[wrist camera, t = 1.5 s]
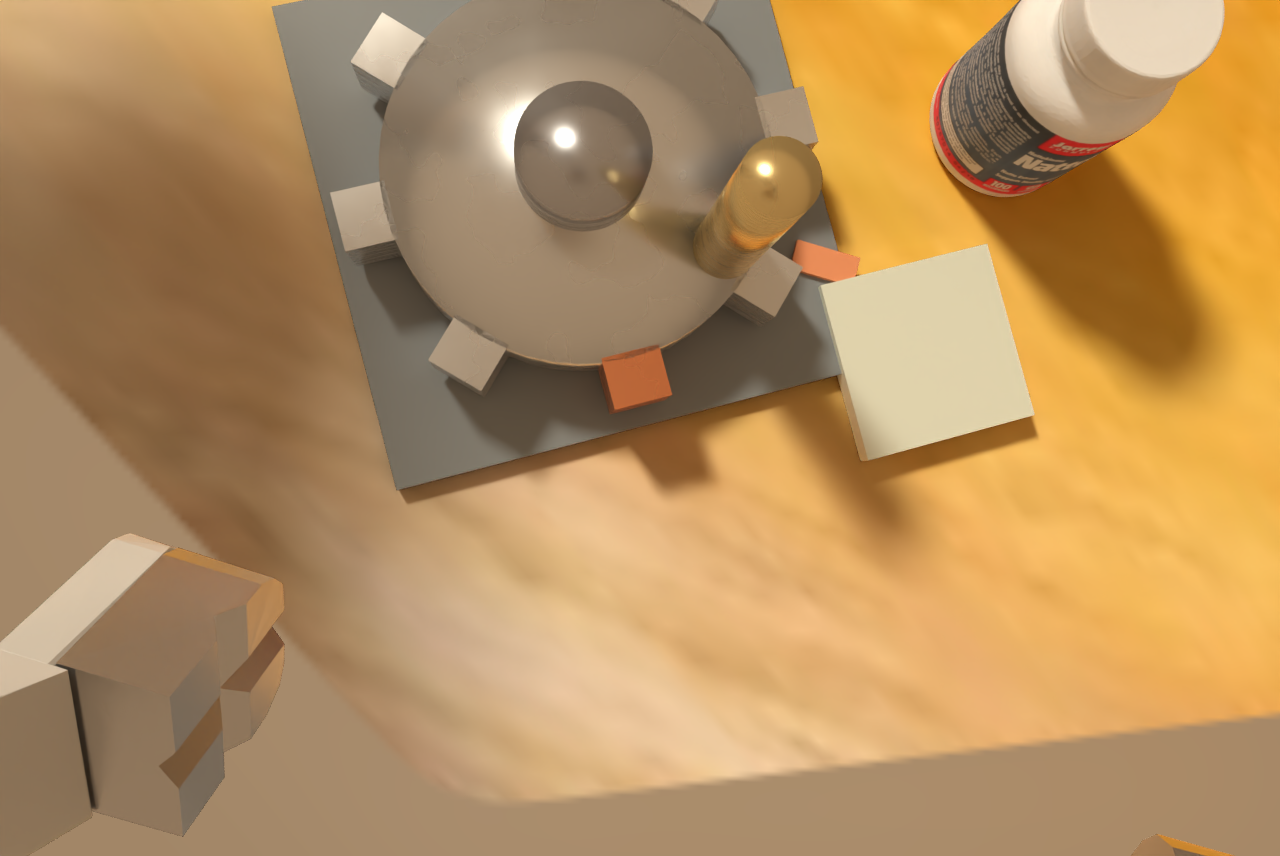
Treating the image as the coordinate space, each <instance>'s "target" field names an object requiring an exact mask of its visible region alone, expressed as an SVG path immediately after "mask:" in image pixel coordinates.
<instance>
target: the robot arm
mask: <svg viewBox="0 0 1280 856" xmlns="http://www.w3.org/2000/svg"><path fill="white" fill-rule="evenodd" d="M283 611H284V595H283V583H281V582H279V581H278V580H276V579H275V578H272V577H269V576H266V575H263V574H260V573H257V572H253V571H250V570H247V569H244V568H241V567H238V566H235V565H231V564H228V563H225V562H222V561H219V560H216V559H213V558H210V557H206V556H203V555H200V554H197V553H194V552H190V551H188V550H184V549H181V548H175V547H172V546H169V545H166V544H163V543H160V542H156V541H153V540H150V539H147V538H144V537H141V536H137V535H134V534H131V533H128V534H126V535H123V536H120V537H117V538H114V539H113V540H111V541H109V542H108V543H107V544H106V545H105V546H104V547H103V548H102V549H101V550H100V551H99V552H97V553H96V554H95V555H94V556H93V557H92V558H91V559H90V560H89V561H88V562H87V563H85V564H84V565H83V566H82V567H81V568H80V569H79V570H78V571H77V572H76V573H75V574H74V575H72V577H71V578H69V579H68V580H67V581H66V582H65V583H64V584H63V585H62V586H60V588H58V589H57V590H56V591H55V592H54V593H53V594H52V595H51V596H50V597H48V598H47V600H45V601H44V602H43V603H42V604H41V605H40V606H39V607H38V608H37V609H35V610H34V611H33V612H32V613H31V614H30V615H29V616H28V617H27V618H26V619H25V620H23V621H22V622H21V623H20V624H19V625H18V626H17V627H16V628H15V629H14V630H13V631H11V633H9V634H8V635H7V636H6V637H5V638H4V639H3V640H2V641H1V642H0V856H28V855H30V854H32V853H33V852H35V851H37V850H38V849H40V848H42V847H43V846H45V845H47V844H48V843H50V842H52V841H53V840H55V839H57V838H58V837H60V836H62V835H63V834H65V833H67V832H68V831H70V830H72V829H73V828H75V827H77V826H78V825H80V824H82V823H83V822H85V821H87V820H88V819H90V818H92V811H93V812H97V813H100V814H104V815H108V816H111V817H115V818H119V819H122V820H126V821H129V822H132V823H136V824H140V825H143V826H147V827H150V828H154V829H157V830H161V831H164V832H168V833H172V834H175V835H179V836H182V837H183V836H184V834H185V833H186V832H187V830H188V829H189V827H190V826H191V824H192V823H193V822H194V820H195V819H196V817H197V816H198V814H199V813H200V812H201V810H202V809H203V807H204V806H205V804H206V803H207V802H208V800H209V799H210V797H211V796H212V794H213V793H214V791H215V790H216V788H217V787H218V786H219V784H220V783H221V781H222V780H223V779H224V752H225V751H227V750H229V749H231V748H233V747H236V746H238V745H240V744H242V743H244V742H246V741H248V740H250V739H251V738H252V736H253V735H254V733H255V732H256V730H257V729H258V727H259V726H260V724H261V723H262V721H263V720H264V718H265V717H266V715H267V713H268V711H269V709H270V706H271V704H272V702H273V699H274V697H275V695H276V692H277V690H278V688H279V685H280V681H281V676H282V671H283V666H284V643H283V641H282V640H281V638H280V637H279V635H278V634H277V633H276V631H275V630H274V628H273V627H272V626H273V624H274V623H275V622H276V620H277V619H278V618H279V616H280V615H281V614H282V612H283ZM1131 856H1234V855H1230V854H1226V853H1223V852H1219V851H1215V850H1212V849H1209V848H1205V847H1201V846H1198V845H1194V844H1191V843H1187V842H1184V841H1180V840H1176V839H1173V838H1169V837H1166V836H1162V835H1158V834H1155V835H1153V836H1151V837H1149V838H1146V839H1144V840H1142V841H1141V843H1140V844H1139V845H1138V847H1137V848H1136V849H1135V850H1134V852H1133V853H1132V854H1131Z"/></svg>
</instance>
